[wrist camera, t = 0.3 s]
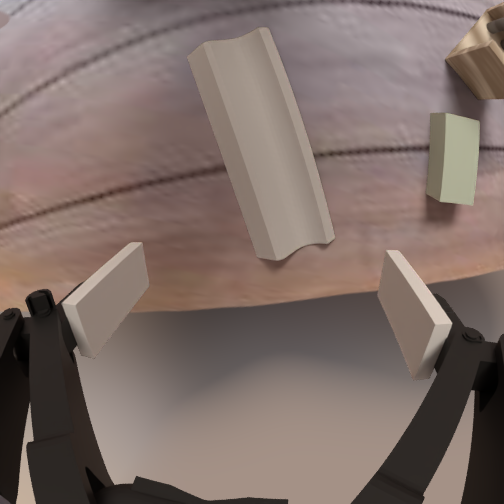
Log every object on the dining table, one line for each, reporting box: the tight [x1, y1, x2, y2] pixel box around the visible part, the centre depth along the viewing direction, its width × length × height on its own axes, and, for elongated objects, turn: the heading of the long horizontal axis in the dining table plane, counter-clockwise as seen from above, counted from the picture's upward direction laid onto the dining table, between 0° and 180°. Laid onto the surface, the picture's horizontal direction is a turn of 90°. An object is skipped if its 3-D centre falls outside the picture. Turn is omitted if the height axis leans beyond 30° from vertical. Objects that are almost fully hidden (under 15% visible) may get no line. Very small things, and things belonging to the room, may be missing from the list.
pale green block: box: [426, 113, 480, 205], centre depth 34 cm, size 12×6×5 cm, turn 1°
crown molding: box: [187, 27, 335, 261], centre depth 38 cm, size 31×12×4 cm, turn 18°
